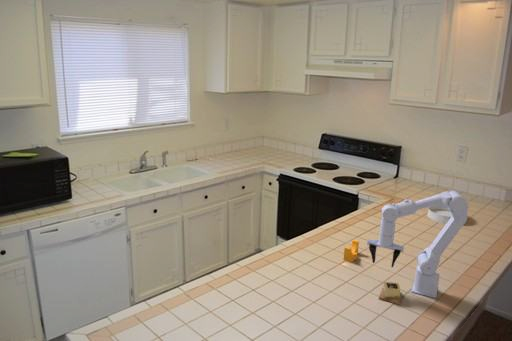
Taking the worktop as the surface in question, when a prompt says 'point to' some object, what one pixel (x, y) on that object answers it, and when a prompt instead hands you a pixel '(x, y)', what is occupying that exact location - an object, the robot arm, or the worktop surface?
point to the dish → (439, 214)
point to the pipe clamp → (351, 251)
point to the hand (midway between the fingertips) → (383, 263)
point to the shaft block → (396, 301)
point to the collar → (391, 290)
